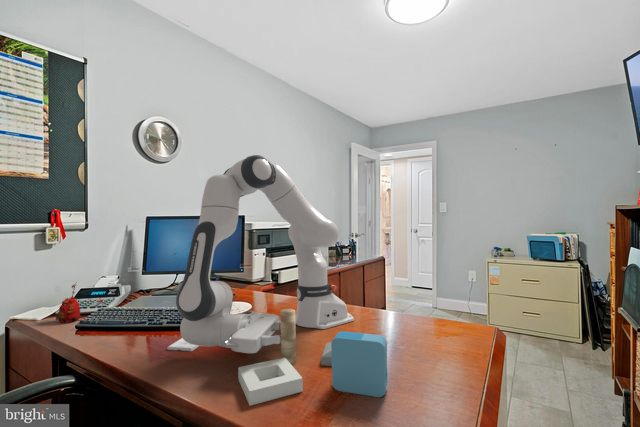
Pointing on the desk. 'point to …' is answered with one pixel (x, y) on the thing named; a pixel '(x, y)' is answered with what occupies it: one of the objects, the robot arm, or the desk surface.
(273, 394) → the socket
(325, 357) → the keypad
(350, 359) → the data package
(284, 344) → the peg
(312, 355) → the desk surface
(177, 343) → the external hard drive
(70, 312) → the red clay folk toy
